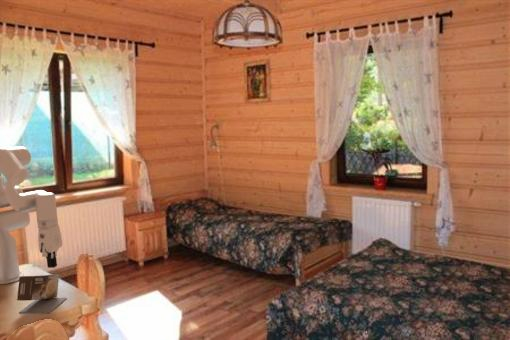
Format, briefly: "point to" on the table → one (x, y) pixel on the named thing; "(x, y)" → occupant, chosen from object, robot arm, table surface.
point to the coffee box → (37, 287)
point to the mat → (43, 305)
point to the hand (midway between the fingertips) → (52, 266)
